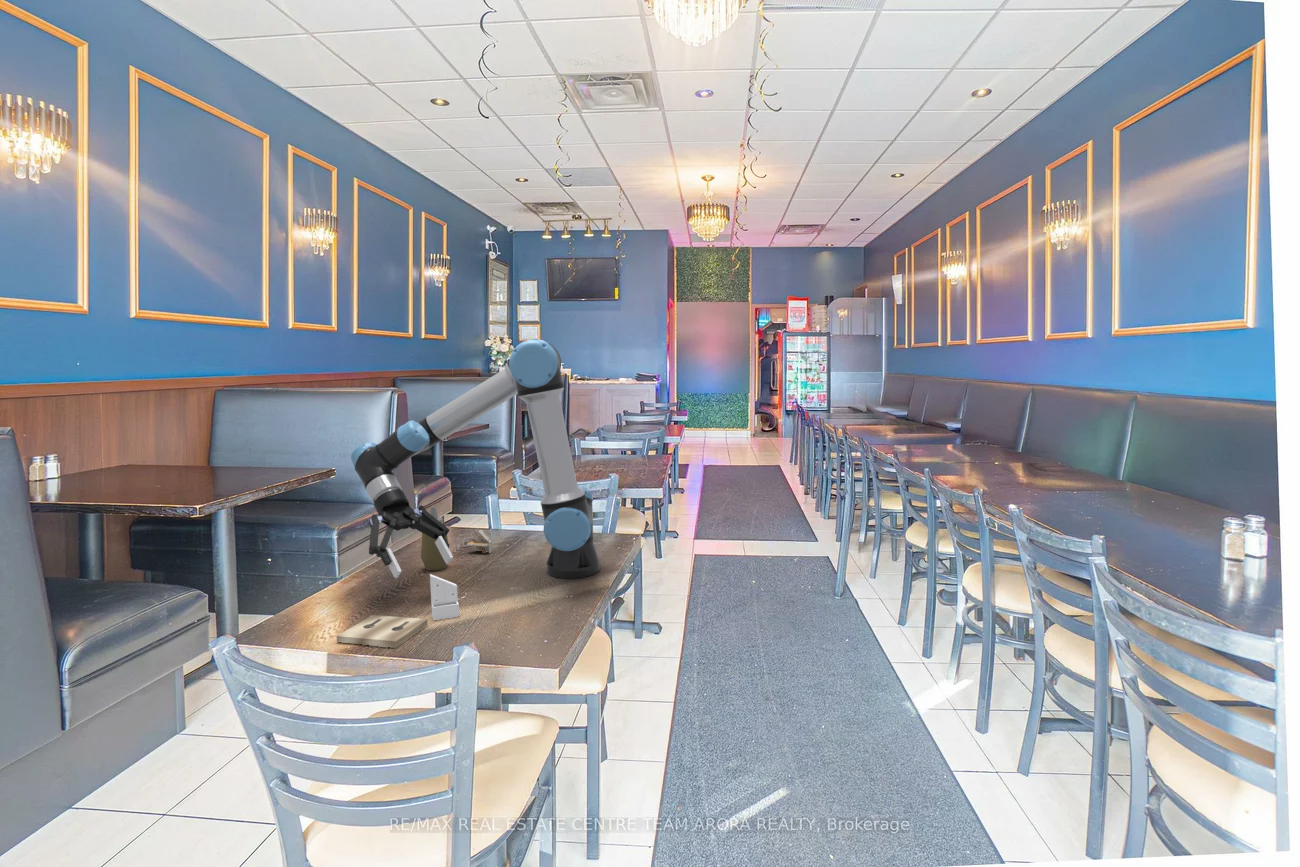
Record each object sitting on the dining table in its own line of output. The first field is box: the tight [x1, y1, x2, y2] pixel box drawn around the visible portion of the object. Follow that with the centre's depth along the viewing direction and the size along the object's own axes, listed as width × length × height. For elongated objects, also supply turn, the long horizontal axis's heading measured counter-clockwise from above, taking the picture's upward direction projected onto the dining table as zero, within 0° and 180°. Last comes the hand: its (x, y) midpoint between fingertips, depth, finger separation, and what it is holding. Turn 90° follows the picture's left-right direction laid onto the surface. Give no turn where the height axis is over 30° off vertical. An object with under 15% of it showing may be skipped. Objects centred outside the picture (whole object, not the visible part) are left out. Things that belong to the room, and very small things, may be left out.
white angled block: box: [429, 573, 460, 621], centre depth 152 cm, size 4×10×9 cm, turn 114°
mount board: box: [336, 614, 429, 649], centre depth 143 cm, size 14×12×2 cm
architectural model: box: [466, 529, 493, 554], centre depth 204 cm, size 3×7×7 cm, turn 75°
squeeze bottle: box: [420, 506, 450, 571], centre depth 189 cm, size 8×8×18 cm
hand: (424, 567), depth 155 cm, fingers open, 13 cm apart
